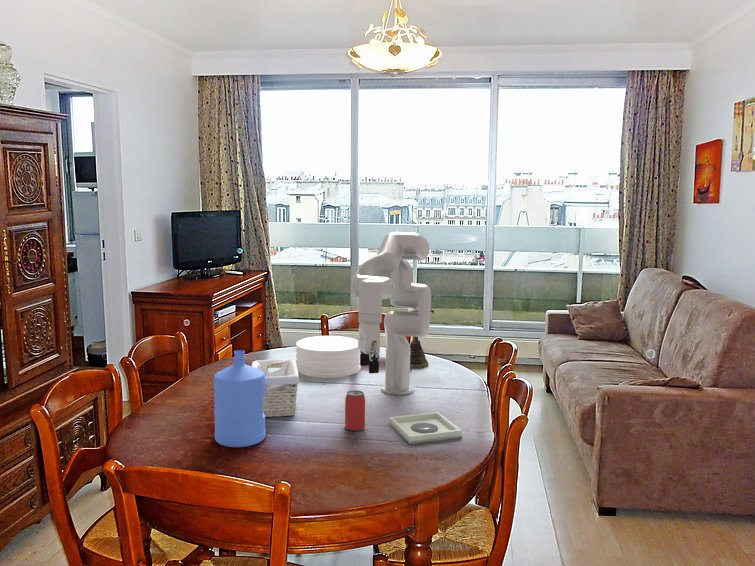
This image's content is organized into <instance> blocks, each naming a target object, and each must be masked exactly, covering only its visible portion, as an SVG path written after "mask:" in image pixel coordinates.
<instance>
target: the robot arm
mask: <svg viewBox="0 0 755 566" xmlns="http://www.w3.org/2000/svg"><path fill="white" fill-rule="evenodd" d="M429 252H430V244H429V241H428V240H427V238H426V237H424V236H423V235H422V234H420V233H417V232H409V231H408V232H407V231H405V232H404V231H391V232H387V234H385V236H384V237H383V239H382V242H381V244H380V246H379V248H378V251H377V254H376V255H375V256H373V257H371V258H369V259H368V260H366V261H365V262H363V263H361V264H360V265H359V266H358V267H357V269H356V271H355V273H354V276H353V277H352V282H351V286H350V287H351V292H352V295H354V297H356V298H358V323H359V324H358V337H357V340H358V349H359V350H360V366H361V367H362V366H363V367H364V366H366V367H367V366H368V373H369V374H379V372H380V371H379V369H380V365H379V364H380V356H381V355H380V353H381V325H380V324H381V323H382V322H383V326H384V333H385V371H384V372H385V373H384V374H385V377H384V381H385V384H383V385H381V387H380V391H381V392H383V393H384V394H386V395H393V396H405V395H410V394H412V393H413V392H414V387H413V386H412V385H411V384H410V379H411V377H410V376H411V368H410V342H409V341H408V339H407V338H406V337H411V338H413V337H418V338H425V337H427V335H428V334H429V332H430V324H431V312H430V310H431V309H432V307H431V306H432V292H431V288H430V287H429V285H427V284H424V283H414V281H413V280H414V269H413V267H412V265H411V263H410V262H409V260H410V261H411V260H412V261H424V260H426V259H427V257H428V256H429ZM387 274H390V277H388V276H385V275H387ZM388 299H389V301H390V304H391V306H394V307H397V308H405V309H406V308H407V309H408V308H416V309H418V312H408V310H391V311H388V312H387V313H385V315H384V318H383V316H382V315H383V300H388Z"/></svg>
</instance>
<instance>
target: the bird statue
mask: <svg viewBox="0 0 755 566" xmlns="http://www.w3.org/2000/svg"><path fill="white" fill-rule="evenodd" d="M407 311H408V312H418V309H416V308H407ZM434 312H435V310H434V309H432V308H431V310H430V313H432V314H433V315H435V313H434ZM409 344H410V369H424V368H426V367H429V361H428V359H427V358H426V352H425V351H424V349H423V348H422V344H421V341H420V340H419V337H412V340H411V341H410V342H409Z"/></svg>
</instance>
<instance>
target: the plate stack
mask: <svg viewBox="0 0 755 566" xmlns="http://www.w3.org/2000/svg"><path fill="white" fill-rule="evenodd" d="M295 346H296V348H295V349H296V350H295V354H296V355H295V357H296V358H295V359H296V360H295V363H296V366H297V370H298V374H302V375H304V376H307V377H313V378H322V379H323V378H326V379H327V378H330V379H331V378H343V377H348V376H353V375H355V374H357V373H359V372H360V371H361V367H362V366H361V365H360V354H361V353H360V350H359V349H358V339H356V338H352V337H347V336H342V335H341V336H340V335H316V336H309V337H305V338H302V339H300V340H297V341H296V344H295Z"/></svg>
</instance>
